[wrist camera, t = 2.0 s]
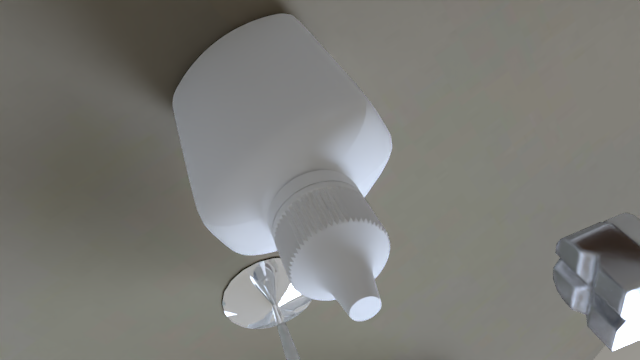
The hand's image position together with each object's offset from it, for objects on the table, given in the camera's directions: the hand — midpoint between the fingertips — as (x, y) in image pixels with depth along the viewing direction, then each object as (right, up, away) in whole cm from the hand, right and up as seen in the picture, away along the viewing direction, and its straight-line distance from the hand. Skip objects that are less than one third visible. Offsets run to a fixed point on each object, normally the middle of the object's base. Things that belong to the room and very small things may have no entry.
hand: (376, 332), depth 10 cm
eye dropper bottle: (-4, +7, +10) cm, 13 cm away
